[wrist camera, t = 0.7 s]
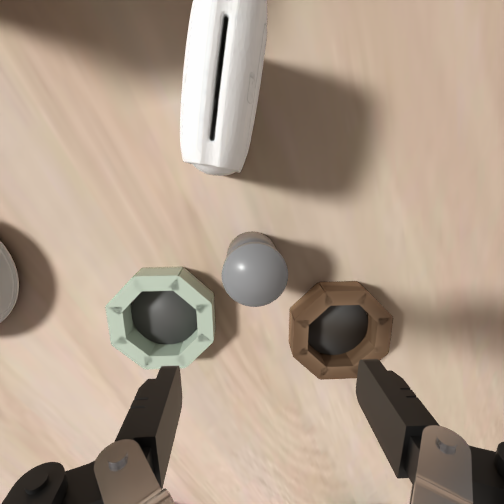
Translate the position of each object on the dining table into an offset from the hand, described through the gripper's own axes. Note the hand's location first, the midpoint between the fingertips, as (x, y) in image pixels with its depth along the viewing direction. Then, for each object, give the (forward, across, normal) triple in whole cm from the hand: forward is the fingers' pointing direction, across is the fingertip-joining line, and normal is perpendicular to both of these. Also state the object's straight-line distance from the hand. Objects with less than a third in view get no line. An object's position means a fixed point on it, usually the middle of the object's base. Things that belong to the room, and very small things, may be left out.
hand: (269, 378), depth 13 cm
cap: (+17, 0, -1) cm, 17 cm away
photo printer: (+18, +2, -14) cm, 22 cm away
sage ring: (+17, +9, +5) cm, 20 cm away
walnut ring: (+17, -9, +7) cm, 21 cm away
